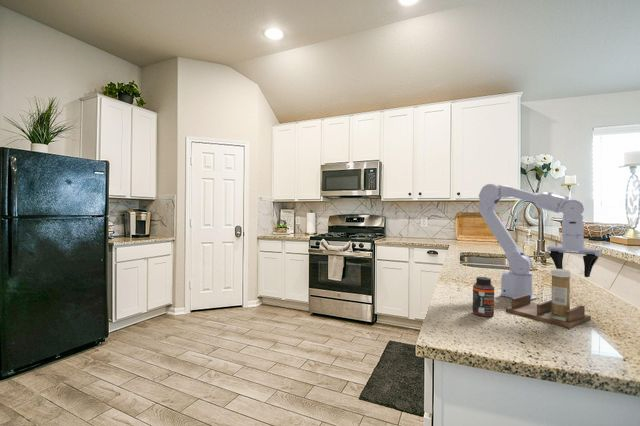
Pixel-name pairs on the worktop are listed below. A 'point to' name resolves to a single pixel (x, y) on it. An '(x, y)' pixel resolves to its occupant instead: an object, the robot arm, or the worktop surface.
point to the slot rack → (547, 312)
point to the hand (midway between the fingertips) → (573, 274)
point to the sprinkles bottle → (560, 291)
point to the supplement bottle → (483, 297)
